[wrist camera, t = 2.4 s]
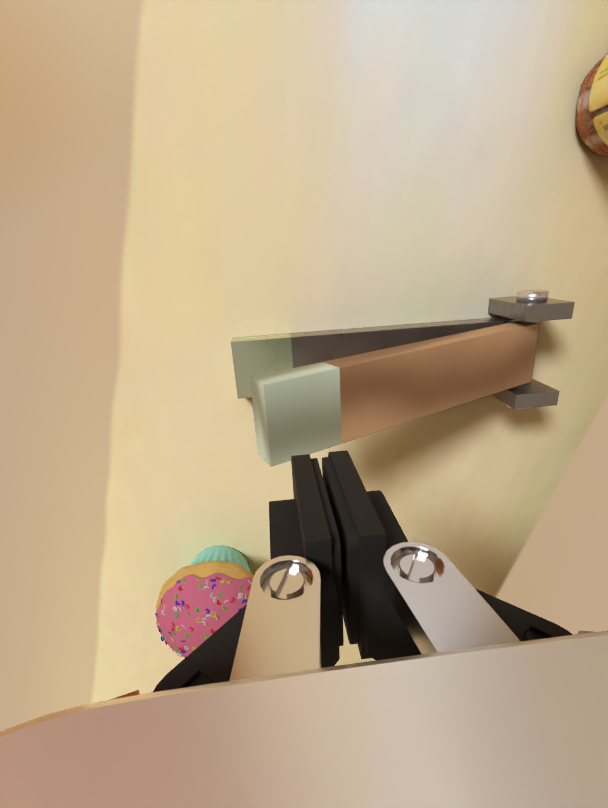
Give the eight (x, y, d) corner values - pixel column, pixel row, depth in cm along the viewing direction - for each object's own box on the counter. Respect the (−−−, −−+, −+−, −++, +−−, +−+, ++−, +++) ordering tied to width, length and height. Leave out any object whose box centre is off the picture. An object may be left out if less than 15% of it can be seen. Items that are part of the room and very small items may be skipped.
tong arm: (249, 377, 19) (263, 384, 17) (518, 320, 28) (539, 323, 26) (258, 454, 20) (271, 466, 19) (511, 376, 29) (531, 381, 28)
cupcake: (253, 517, 33) (248, 649, 22) (280, 592, 36) (287, 742, 25) (154, 543, 33) (98, 689, 22) (189, 616, 36) (155, 777, 25)
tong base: (229, 308, 27) (222, 318, 23) (530, 286, 29) (576, 292, 25) (242, 416, 30) (238, 442, 26) (516, 392, 32) (555, 413, 27)
